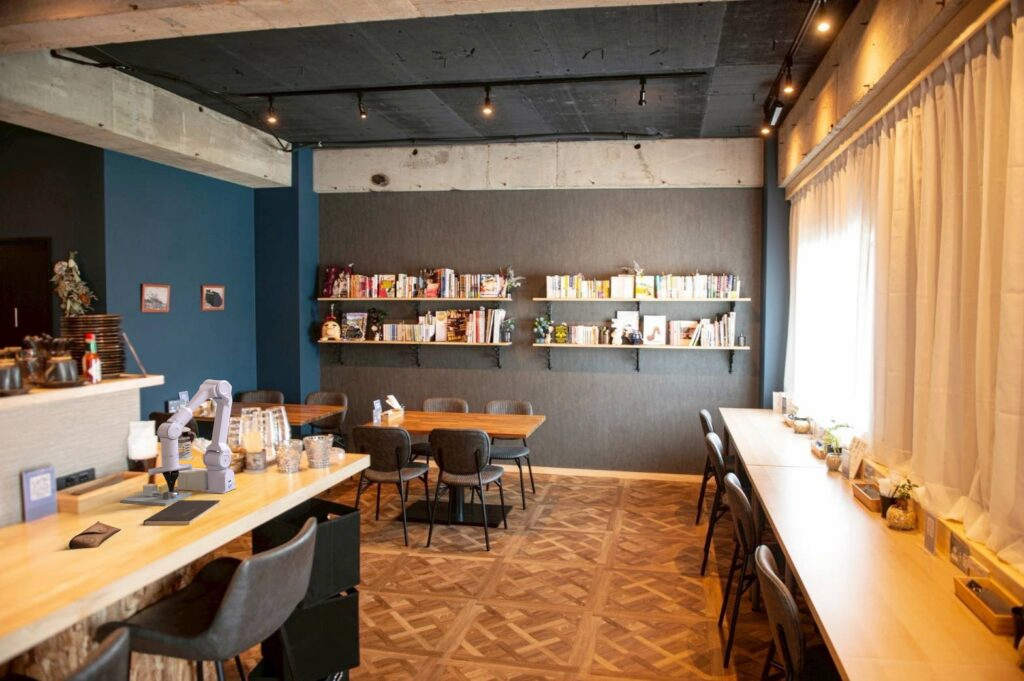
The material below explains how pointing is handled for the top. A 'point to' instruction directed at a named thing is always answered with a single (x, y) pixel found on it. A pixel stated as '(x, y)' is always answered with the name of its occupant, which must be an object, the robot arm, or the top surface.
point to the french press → (185, 443)
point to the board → (153, 499)
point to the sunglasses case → (93, 536)
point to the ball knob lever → (163, 488)
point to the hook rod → (154, 491)
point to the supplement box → (193, 479)
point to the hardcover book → (182, 512)
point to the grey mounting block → (168, 494)
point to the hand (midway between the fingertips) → (171, 491)
